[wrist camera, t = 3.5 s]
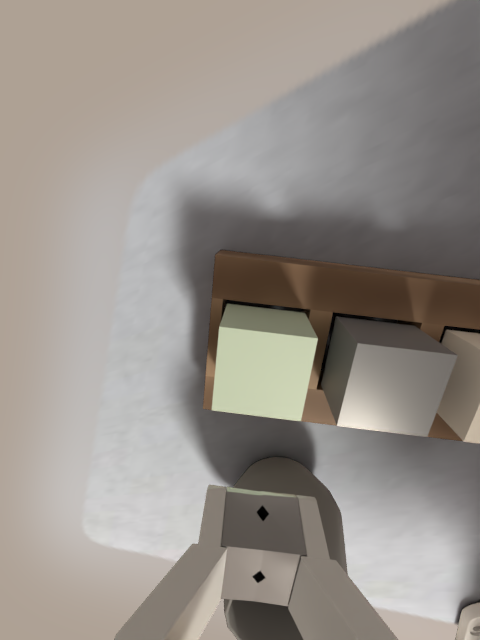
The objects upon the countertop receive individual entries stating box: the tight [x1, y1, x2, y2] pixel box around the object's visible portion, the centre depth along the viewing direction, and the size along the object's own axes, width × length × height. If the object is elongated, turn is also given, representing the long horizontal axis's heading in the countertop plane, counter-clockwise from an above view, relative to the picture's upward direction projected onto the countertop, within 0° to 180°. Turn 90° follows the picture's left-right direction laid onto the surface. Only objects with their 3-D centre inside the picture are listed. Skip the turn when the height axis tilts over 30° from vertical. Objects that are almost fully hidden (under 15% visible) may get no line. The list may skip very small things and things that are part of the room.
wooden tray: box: [203, 250, 480, 441], centre depth 21 cm, size 11×21×3 cm, turn 84°
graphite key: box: [321, 316, 458, 437], centre depth 18 cm, size 5×5×4 cm
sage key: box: [212, 303, 318, 421], centre depth 18 cm, size 5×5×4 cm
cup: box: [224, 457, 348, 640], centre depth 23 cm, size 10×9×10 cm
